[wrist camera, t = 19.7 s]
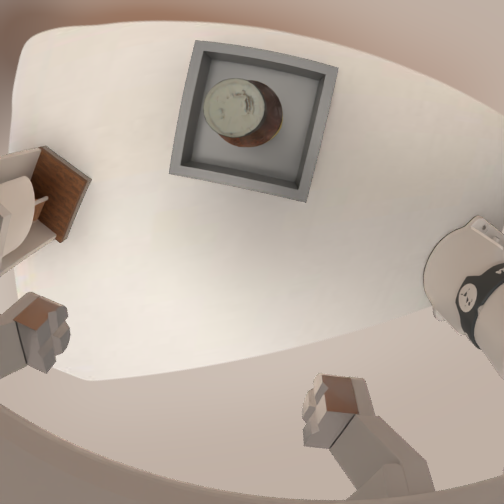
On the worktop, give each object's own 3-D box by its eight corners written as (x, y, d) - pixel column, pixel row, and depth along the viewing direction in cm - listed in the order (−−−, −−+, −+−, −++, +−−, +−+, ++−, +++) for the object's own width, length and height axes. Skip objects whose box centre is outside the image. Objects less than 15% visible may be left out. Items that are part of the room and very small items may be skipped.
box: (329, 75, 35) (338, 67, 30) (301, 192, 41) (306, 202, 36) (205, 51, 35) (195, 40, 29) (182, 167, 41) (168, 173, 35)
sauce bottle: (289, 106, 36) (309, 86, 18) (269, 151, 38) (269, 173, 20) (240, 86, 35) (213, 49, 17) (221, 131, 38) (176, 135, 19)
